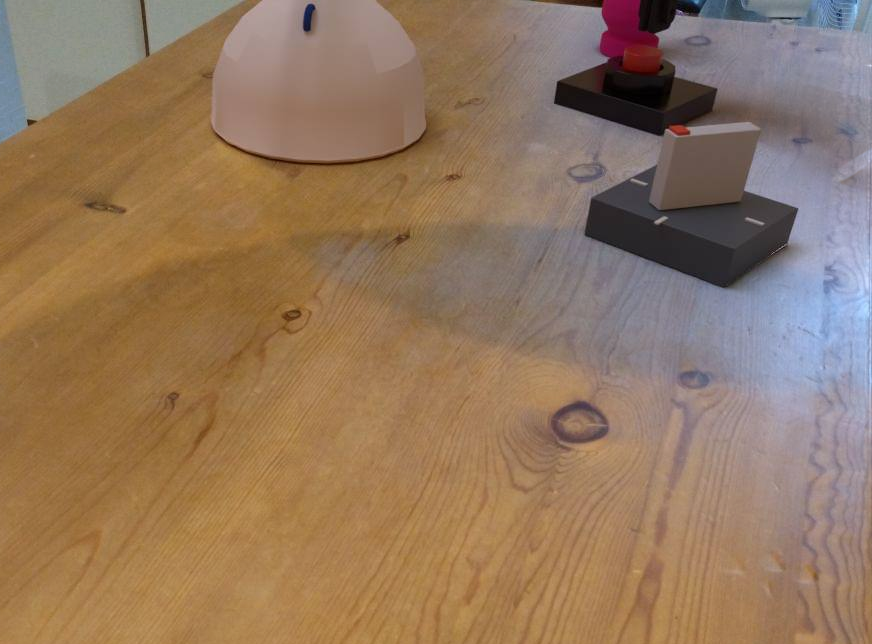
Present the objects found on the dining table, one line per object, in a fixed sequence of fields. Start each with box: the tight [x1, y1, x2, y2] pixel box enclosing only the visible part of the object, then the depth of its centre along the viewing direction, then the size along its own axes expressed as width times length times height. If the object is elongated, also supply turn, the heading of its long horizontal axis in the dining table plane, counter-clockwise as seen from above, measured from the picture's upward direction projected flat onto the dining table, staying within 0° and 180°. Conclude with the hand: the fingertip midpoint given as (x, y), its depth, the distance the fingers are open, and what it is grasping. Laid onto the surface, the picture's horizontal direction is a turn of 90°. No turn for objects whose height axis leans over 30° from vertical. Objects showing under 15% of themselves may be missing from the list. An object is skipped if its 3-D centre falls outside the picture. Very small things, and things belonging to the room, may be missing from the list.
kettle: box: [209, 0, 427, 164], centre depth 94 cm, size 20×21×18 cm
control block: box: [553, 55, 719, 137], centre depth 103 cm, size 12×10×4 cm
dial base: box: [584, 164, 799, 288], centre depth 81 cm, size 12×11×3 cm
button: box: [622, 45, 664, 73], centre depth 102 cm, size 4×4×2 cm
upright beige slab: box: [649, 121, 762, 210], centre depth 78 cm, size 7×2×6 cm, turn 106°
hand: (654, 29), depth 100 cm, fingers closed
